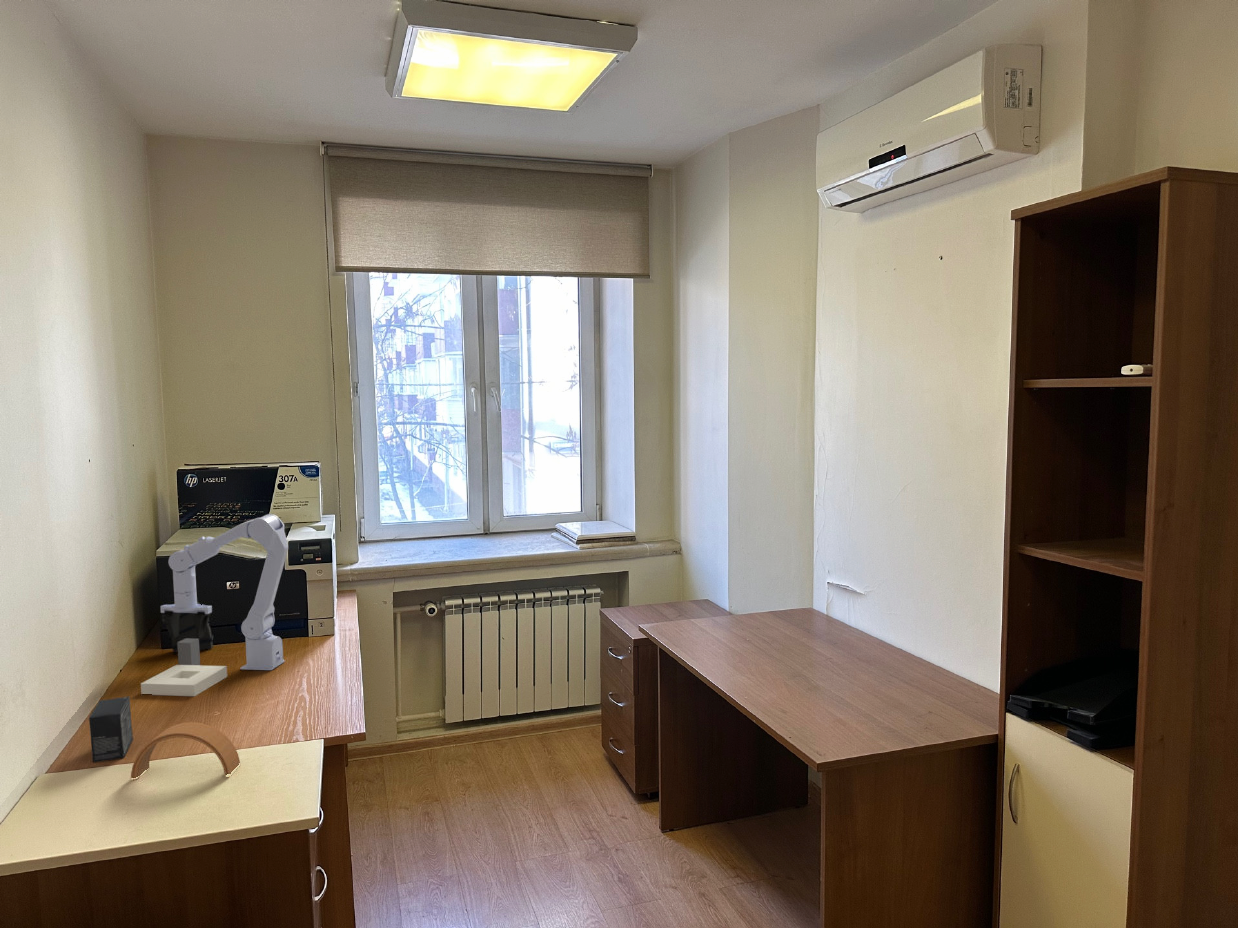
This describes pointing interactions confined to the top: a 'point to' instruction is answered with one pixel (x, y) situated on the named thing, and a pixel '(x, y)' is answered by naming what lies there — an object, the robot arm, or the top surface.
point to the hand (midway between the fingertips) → (187, 637)
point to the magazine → (190, 632)
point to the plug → (188, 652)
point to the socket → (184, 680)
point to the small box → (111, 729)
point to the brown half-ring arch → (195, 732)
